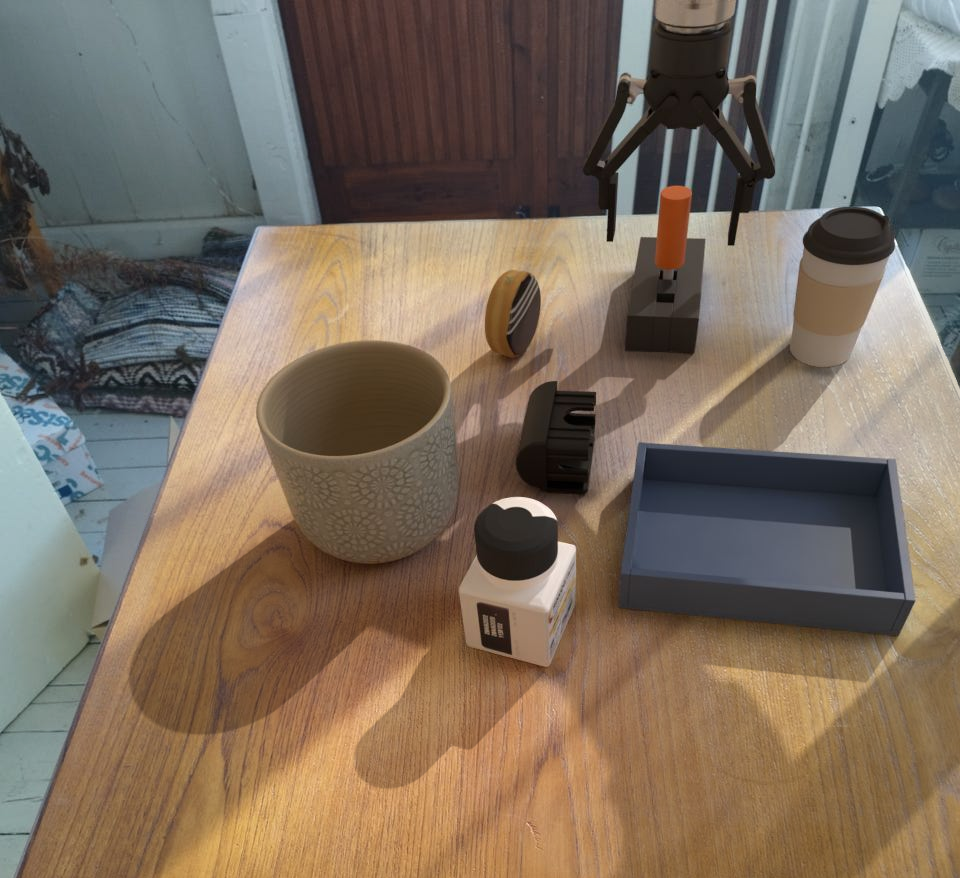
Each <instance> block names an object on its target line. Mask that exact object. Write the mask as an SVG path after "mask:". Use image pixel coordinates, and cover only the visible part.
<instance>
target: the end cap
mask: <svg viewBox="0 0 960 878" xmlns="http://www.w3.org/2000/svg"><path fill="white" fill-rule="evenodd" d="M596 406H597V391H586V390H558V380H549V381H546V382H543V383H541V384H539V385H537V386H536V387H535V388H534V389H533V390H532V391H531V393H530V395H529V398H528V400H527V405H526V410H525V414H524V420H523V424H522V427H521V429H522V430H521V433H520V438H519V442H518V447H517V452H516V456H515V470H516V473H517V474H518V476H519V477H520V479H521V480H522V481H523V482H524V483H526V484H527V485H529V486H530V487H532V488H535V489H538V490H540V491H541V492H545V493H549V494H565V495H566V494H568V495H585V494H587V493H588V491H589V485H590V478H591V472H592V461H593V454H594V447H595V437H596V436H595V434H596V419H597V415H596V413H578V412H595V407H596ZM575 412H577V413H575Z"/></svg>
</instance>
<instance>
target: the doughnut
mask: <svg viewBox="0 0 960 878" xmlns="http://www.w3.org/2000/svg"><path fill="white" fill-rule="evenodd" d="M541 305H542V295H541V288H540V284H539V282H538V280H537V278H536V276H535V275H533V273H531V272H529V271H525V270H517V269H509V270H507V271H505V272H504V273H502V274H501V275H500V276H499V277H498V278H497V280H496V281H495V283H494V284H493V286H492V288H491V290H490V293H489V296H488V298H487V302H486V308H485V314H484V334H485V339H486V343H487V345H488V347H489V348H490V350H491V351H493V353H494V354H497V355H501V356H505V357H507V358H514V359H515V358H517V357H520V356H521V355H523V354H524V353H525V352H526V351H527V349H528V348H529V347H530V345H531V343H532V341H533V340H534V337H535V334H536V331H537V328H538V325H539V320H540V315H541Z"/></svg>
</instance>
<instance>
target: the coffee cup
mask: <svg viewBox="0 0 960 878" xmlns="http://www.w3.org/2000/svg"><path fill="white" fill-rule="evenodd" d="M895 238H896V233H895V231H894V230H893V228H892V227H891V225H890V218H889V216H888V215H885V214H884V215H883V214H881V213H880V212H878V211H876V210H874V209H871V208H868V207H863V206H853V205H852V206H851V205H849V206H840V207H835V208H832V209H829V210H828V211H825V212H824V213H823V214H822V215H821V217H819V218H817V219H815V220H814V221H813V222H812V223H811V224H810V225H809V227H808V229H807V231H806V232H805V233H804V234H803V237H802V246H803V250H802V257H801V258H800V261H799V264H798V265H799V266H798V273H797V274H798V275H797V283H796V290H795V298H794V305H793V322H792V328H791V329H792V330H791V337H790V344H789V351H790V353H791V355H792V356H793V357H794V358H795V359H796V360H797V361H799V362H800V363H803V364H805V365H808V366H811V367H816V368H832V367H837V366H840V365H842V364H844V363H846V362H847V361H849V359H850V357H851V356H852V353H853V350H854V348H855V346H856V343H857V340H858V339H859V335H860V333H861V331H862V327H863V326H864V325H865V323H866V320H867V318H868V316H869V313H870V310H871V308H872V306H873V303H874V300H875V298H876V296H877V293H878V292H879V291H878V290H879V288H880V286H881V283H882V281H883V278H884V275H885V273H886V266H887V264H888V262H889V259H890V256H891V255H892V254H893V253H894V251H895V249H896V242H895V240H896V239H895Z"/></svg>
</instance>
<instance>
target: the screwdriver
mask: <svg viewBox="0 0 960 878" xmlns="http://www.w3.org/2000/svg"><path fill="white" fill-rule="evenodd" d="M659 195H660V196H659V205H658V206H659V207H658V219H657V231H656V237H657V241H656V253H655V264H656V266H658V267H659V268H662V269H664V270H663V280H673V273H674V269H677V268H679V267H681V266H682V265H683V264H684V260H685V251H686V242H687V238H688V232H689V224H690V216H691V215H690V214H691V206H692V196H693V190H691V188H689V187H687V186H683V185H671V186H667V187H664V188H663V189H661V191H660V194H659Z"/></svg>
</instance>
